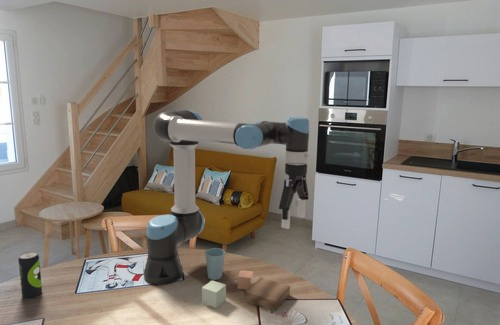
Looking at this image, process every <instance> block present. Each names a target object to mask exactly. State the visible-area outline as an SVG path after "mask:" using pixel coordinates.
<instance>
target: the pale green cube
mask: <svg viewBox="0 0 500 325" xmlns="http://www.w3.org/2000/svg"><path fill="white" fill-rule="evenodd" d="M226 300H227V284H224V283H222V282H218V281H215V280H212V279H211V280H210V281H209V282H208V283H206V284H205V285H203V286H202V287H201V303H202V304H203V305H206V306H209V307H211V308H213V309H214V308H215V309H217V308H219V306H221V305H222V304H223V303H224V302H226Z"/></svg>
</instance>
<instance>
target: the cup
mask: <svg viewBox="0 0 500 325" xmlns="http://www.w3.org/2000/svg"><path fill="white" fill-rule="evenodd" d="M225 254H226V252H225V250H224V249H223V248H218V247H217V248H216V247H212V248H208V249H206V251H205V262H206V269H207V270H206V272H207V277H208V279H210V280H211V281H212V280H213V281H215V280H216V279H217V280H220V279H222V277H223V271H224V270H223V269H224V263H225Z"/></svg>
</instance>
